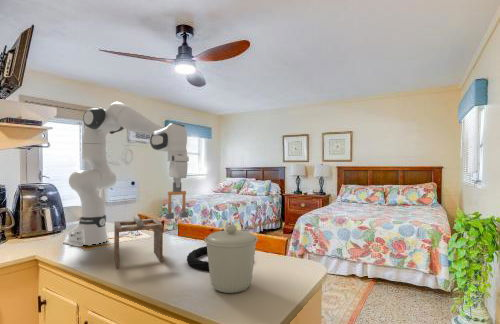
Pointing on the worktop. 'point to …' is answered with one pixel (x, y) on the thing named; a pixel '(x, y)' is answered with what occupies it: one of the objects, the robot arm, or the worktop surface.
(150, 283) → the worktop surface
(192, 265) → the cable lock
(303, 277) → the worktop surface
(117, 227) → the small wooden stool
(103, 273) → the worktop surface
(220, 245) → the canister
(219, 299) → the worktop surface
